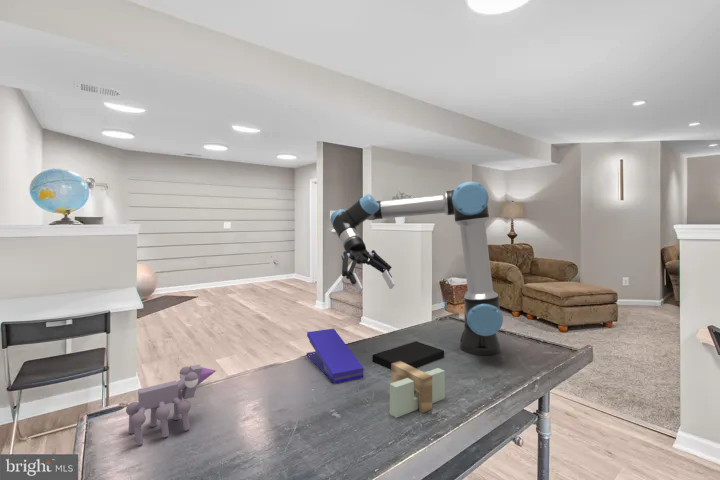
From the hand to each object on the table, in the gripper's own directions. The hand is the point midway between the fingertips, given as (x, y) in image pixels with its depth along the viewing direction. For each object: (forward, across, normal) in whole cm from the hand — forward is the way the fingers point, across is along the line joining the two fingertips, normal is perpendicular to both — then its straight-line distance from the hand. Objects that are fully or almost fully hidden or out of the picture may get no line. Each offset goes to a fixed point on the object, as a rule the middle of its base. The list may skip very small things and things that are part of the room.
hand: (377, 288), depth 121 cm
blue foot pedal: (+12, +12, -28) cm, 32 cm away
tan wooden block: (+37, +6, -3) cm, 37 cm away
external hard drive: (+20, -14, -20) cm, 32 cm away
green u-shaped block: (+38, +6, -1) cm, 39 cm away
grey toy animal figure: (+20, +62, -20) cm, 68 cm away
